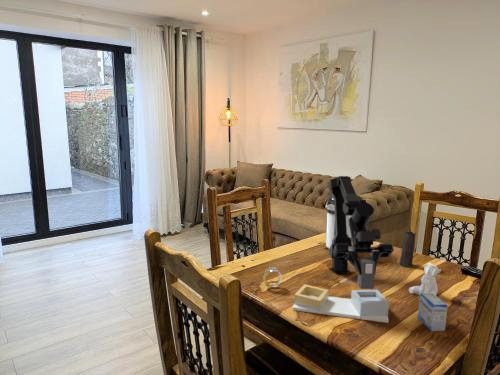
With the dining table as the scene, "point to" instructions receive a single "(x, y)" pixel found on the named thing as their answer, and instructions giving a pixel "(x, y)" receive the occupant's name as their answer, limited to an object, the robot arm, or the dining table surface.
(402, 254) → the butter churn
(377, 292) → the raised dock
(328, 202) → the coffee press
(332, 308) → the panel board
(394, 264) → the dining table surface
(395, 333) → the dining table surface
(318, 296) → the low dock
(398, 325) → the dining table surface
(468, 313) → the dining table surface
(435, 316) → the medicine box
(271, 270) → the ring
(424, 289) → the white creature statuette
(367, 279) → the plug
